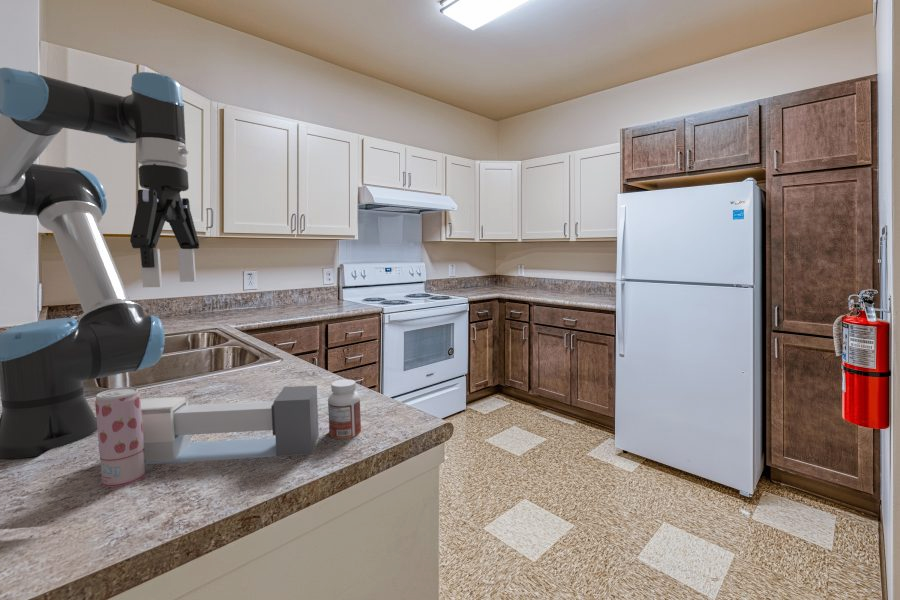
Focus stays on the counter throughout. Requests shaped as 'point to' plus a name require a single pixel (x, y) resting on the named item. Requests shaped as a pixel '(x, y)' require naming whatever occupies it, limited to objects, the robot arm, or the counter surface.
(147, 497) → the counter surface
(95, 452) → the counter surface
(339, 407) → the pill bottle
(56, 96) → the robot arm
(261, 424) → the tube
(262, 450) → the mounting board
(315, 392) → the socket
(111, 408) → the beverage can
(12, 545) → the counter surface
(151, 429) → the sleeve
